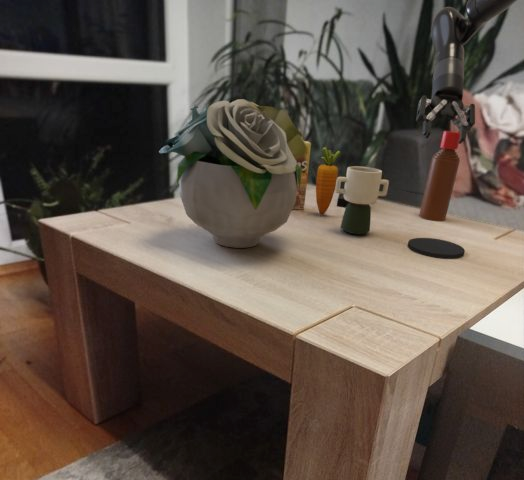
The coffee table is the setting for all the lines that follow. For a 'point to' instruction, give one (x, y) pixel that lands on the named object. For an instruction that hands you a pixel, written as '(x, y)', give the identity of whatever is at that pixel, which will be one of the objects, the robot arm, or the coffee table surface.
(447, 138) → the cap
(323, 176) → the carrot
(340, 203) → the vhs tape
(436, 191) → the bottle
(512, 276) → the coffee table surface
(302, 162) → the candy box
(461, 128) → the robot arm
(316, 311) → the coffee table surface
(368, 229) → the cream green handled vessel
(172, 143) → the flower arrangement
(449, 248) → the coaster
